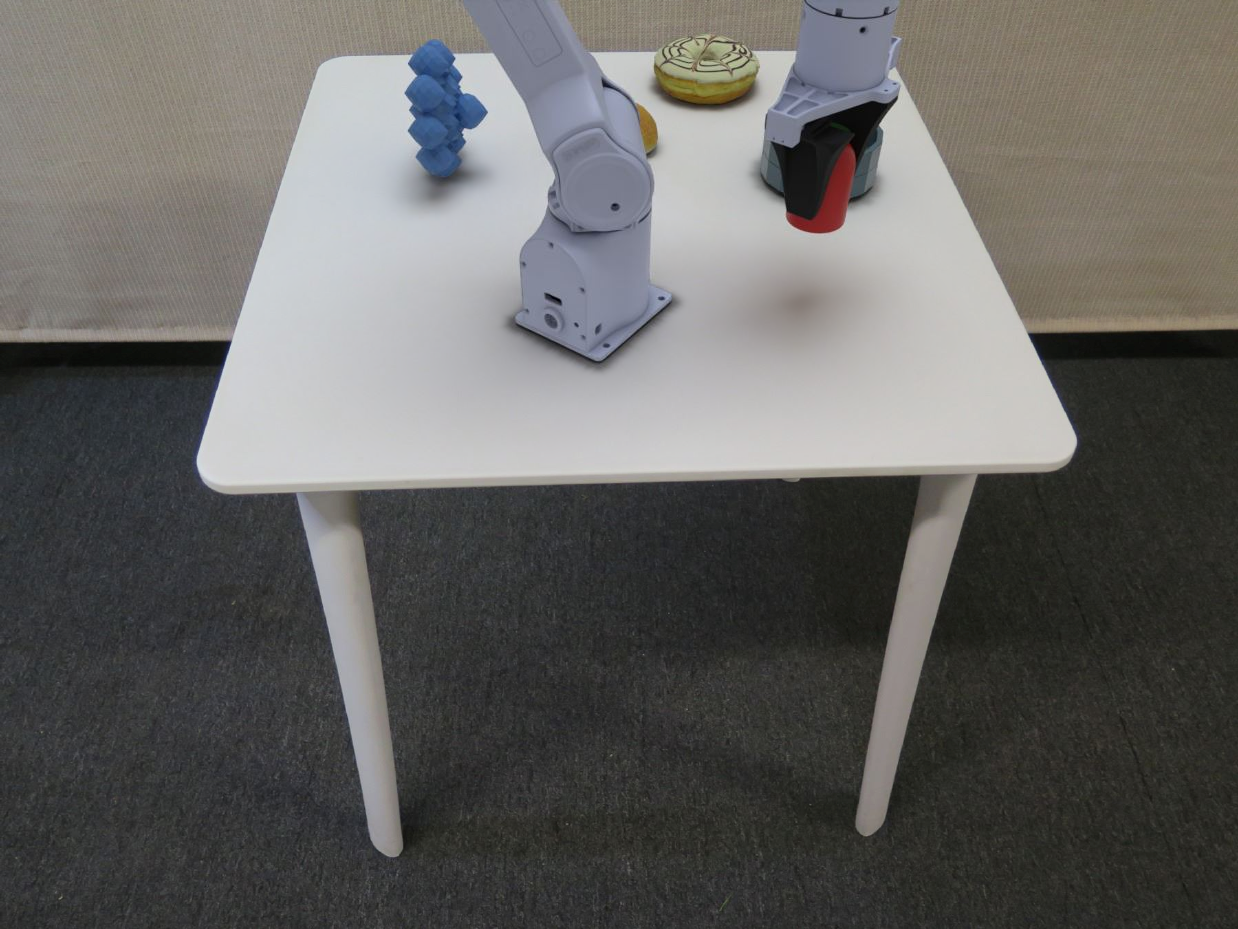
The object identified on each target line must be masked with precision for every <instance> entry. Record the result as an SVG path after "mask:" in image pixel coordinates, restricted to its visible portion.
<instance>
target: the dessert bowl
mask: <svg viewBox="0 0 1238 929" xmlns="http://www.w3.org/2000/svg"><path fill="white" fill-rule="evenodd" d="M763 133H764V134H763V143H762V150H761V157H760V158H761V159H760V167H759V170H760V173H761V174H762V176H763V179H764V180H765V182H766V183H767V184H768V185H770V186H771V187H773V188H774V189H776V191H778V192H781V193H782V194H784V191H783V183H782V176H781V170H780V166H779V162H778V158H777V155H776V152H775V150H774V147H773V145H772V143H771V141H770V140H767V139H765V138H764V137H765V132H763ZM883 142H884V130H883V129H882V127H881V126H880V125H879V126H878V127H877V129H876V131H875V132H874V134H873V136H872V138H871V140H870V142H869V144H868V146H867V148H866V150H865V152H864V155H863V157H862V159H861V161H860V164H859V166H858V168H857V171H856V173H855V175H854V177H853V182H852V187H851V192H850V197H849V200H851V199H853V198H856V197H859V196H861V195H864V194H865V193H866V192H867V191H868V190H869V189H870V188H871V187H872V186H873V185H874V183H875V178H876V174H877V171H878V170H877V169H878V165H879V161H880V156H881V151H882V146H883Z"/></svg>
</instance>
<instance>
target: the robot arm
mask: <svg viewBox="0 0 1238 929" xmlns="http://www.w3.org/2000/svg"><path fill="white" fill-rule="evenodd" d="M460 2H461V3H462V5H463V7H464V9H465V10H466V12H467V13H468V15H469V16H470V19H472V22H473V23H474V24H475V26H476V28H477V29H478V31H479V32H480V34H481V36H482V37H483V39H484V41H485V42H486V44H487V45H488V47H489V48H490V50H491V51H492V54H493V55H494V56H495V58H496V60H497V61H498V63H499V64H500V66H501V68H502V69H503V71H504V72H505V74H506V76H507V77H508V79H509V81H510V82H511V83H512V86H513V87H514V88H515V90H516V92H517V94H518V95H519V97H520V98H521V100H522V102H523V103H524V106H525V108H526V111H527V113H528V116H529V119H530V122H531V125H532V127H533V131H534V133H535V136H536V139H537V141H538V143H539V147H540V149H541V151H542V153H543V155H544V156H545V158H546V160H547V161H548V163H549V164H550V166H551V168H552V172H553V176H554V179H553V182H552V185H550V186H549V188H548V189H547V206H546V210H545V214H544V216H543V218H542V221H541V223H540V225H539V226H538V227H537V229H536V230H535V232H534V233H532V235H531V236H530V237H529V238H528V239H526V241H525V242H524V244H523V245H522V246H521V249H520V251H519V258H518V259H519V260H518V262H519V275H520V289H521V302H522V303H521V304H522V310H521V311H519V312H518V313H517V314H516V315H515V316H514V321H515V323H516V324H517V325H519V326H522V327H523V328H525V329H527V330H530V331H532V332H534V333H536V334H538V335H541V336H542V337H544V338H546V339H548V340H550V341H552V342H555V343H557V344H559V345H561V346H564V347H566V348H567V349H569V350H571V351H574V352H576V353H577V354H580V355H581V356H584V357H586V358H588V359H591V360H592V361H595V362H601V361H604V359H606V358H607V357H608V356H609V355H611V353H613V352H614V351H616V349H617V348H619V347H620V346H621V345H622V344H623V343H625V341H627V340H628V339H629V338H630V337H631V336H633V334H635V333H636V332H637V331H638V330H639V329H640V328H642V327H643V326H644V325H645V324H647V322H649V321H650V320H651V319H652V318H653V317H654V316H656V315H657V314H658V313H659V312H660V311H661V310H662V309H664V308H665V307H666V306H667V305H668V304H669V303H670V302H672V299H673V298H672V297H673V296H672V294H671V293H670V292H668V291H667V290H664V289H662V288H659V287H658V286H655V285H653V284H651V283H650V274H651V273H650V271H651V270H650V269H651V246H652V244H651V243H652V217H653V216H652V215H653V196H654V192H655V175H654V172H653V169H652V165H651V164H650V163H649V161H648V156H647V154H646V152H645V148H644V144H643V139H642V135H641V130H640V125H641V121H640V115H639V111H638V107H637V105H636V103H637V102H636V101H635V99H634V98H633V97H632V95H631V94H630V93H629V92H627V91H626V89H625V88H623V87H621V86H620V85H618V84H616V82H614V81H612V80H611V79H610V78H608V76H606V74H605V73H604V71H603V69H602V68H601V67H600V65H599V63H598V61H597V59H596V58H595V56H594V55H592V53H591V52H589V51H588V50H587V49H586V48H585V47H584V46H583V44H582V43H581V41H580V39H579V37H578V35H577V33H576V31H575V30H574V27H573V26H572V25H571V23H570V21H569V19H568V18H567V16H566V14H565V12H564V10H563V8H562V6H561V5H560V3H559V2H558V0H460ZM900 2H901V0H802V7H801V14H800V21H799V28H798V36H797V37H798V38H797V46H796V51H795V59H794V62H793V63H792V64H791V66H790V68H789V71H788V73H787V76H786V78H785V81H784V83H783V85H782V89H781V91H780V94H779V97H778V99H777V100H776V101H775V103H774V104H773V105H772V106H770V107H769V108H768V109H767V112H766V114H765V118H764V133H765V137H764V136H763V139H764V138H765V139H767V140H770V141H771V143H772V145H773V147H774V150H775V152H776V155H777V158H778V162H779V166H780V170H781V176H782V183H783V191H784V193H783V197H784V205H785V212H786V211H787V212H788V213H791V214H794V215H796V216H799V217H802V218H805V219H807V220H813V219H814V218H815V217H816V216H817V214H818V212H819V210H820V208H821V205H822V203H823V200H824V197H825V193H826V190H827V187H828V183H829V180H830V177H831V174H832V172H833V169H834V167H835V165H836V163H837V161H838V159H839V157H840V155H841V154H842V152H843V150H844V149H845V147H846V146H847V144H848V143H850V144H851V146H852V148H853V150H854V153H855V158H856V165H855V171H854V175H855V173H856V171H857V168H858V166H859V164H860V161H861V159H862V157H863V155H864V152H865V150H866V148H867V146H868V144H869V142H870V140H871V138H872V136H873V134H874V132H875V131H876V129H877V127H878V126H880V125H881V122H882V121H883V119H884V118H885V117H886V115H887V114H888V113H889V112H890V110H891V109H892V108H893V107H894V105H895V104H896V103H897V102H898V99H899V95H900V90H901V87H902V84H901V83H900V81H898V80H894V79H891V78H889V74H890V71H892V70H893V69H894V68H896V67H897V64H898V59H899V55H900V50H901V46H902V42H903V39H902V38H901V37H898V36H894V29H895V24H896V22H897V16H898V11H899V6H900ZM635 102H636V103H635ZM832 123H837V124H840V125H843V126H845V127H846V128H848V129H849V130H850V132H848V131H845V130H842V129H839V128H836V127H833V126H831V124H832ZM853 177H854V176H853Z"/></svg>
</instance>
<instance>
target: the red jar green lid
mask: <svg viewBox="0 0 1238 929" xmlns="http://www.w3.org/2000/svg"><path fill="white" fill-rule="evenodd" d="M831 126H833V127H836V128H839V129H842V130H845V131H848V132H850V130H849V129H848V128H846V127H845V126H843V125H840V124H837V123H832V124H831ZM855 165H856V158H855V153H854V150H853V148H852V146H851V144H850V143H848V144H847V146H846V147H845V149H844V150H843V152H842V154H841V155H840V157H839V159H838V161H837V163H836V165H835V167H834V169H833V172H832V174H831V177H830V180H829V183H828V187H827V190H826V193H825V197H824V200H823V203H822V205H821V208H820V210H819V212H818V214H817V216H816V217H815V218H814V219H813V220H807V219H805V218H802V217H799V216H796V215H794V214H791V213H788V212H787V211H786V210H785V218H786V220H787V222H788V223H789V225H790V226H792V227H794V228H795V229H797V230H799V231H801V232H804V233H809V234H816V235H817V234H820V235H821V234H831V233H833V232H836V231H838V230H840V229H841V228H842V227H843V226H844V224H845V221H846V217H847V212H848V206H849V201H850V199H849V197H850V192H851V187H852V182H853V176H854V171H855Z"/></svg>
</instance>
